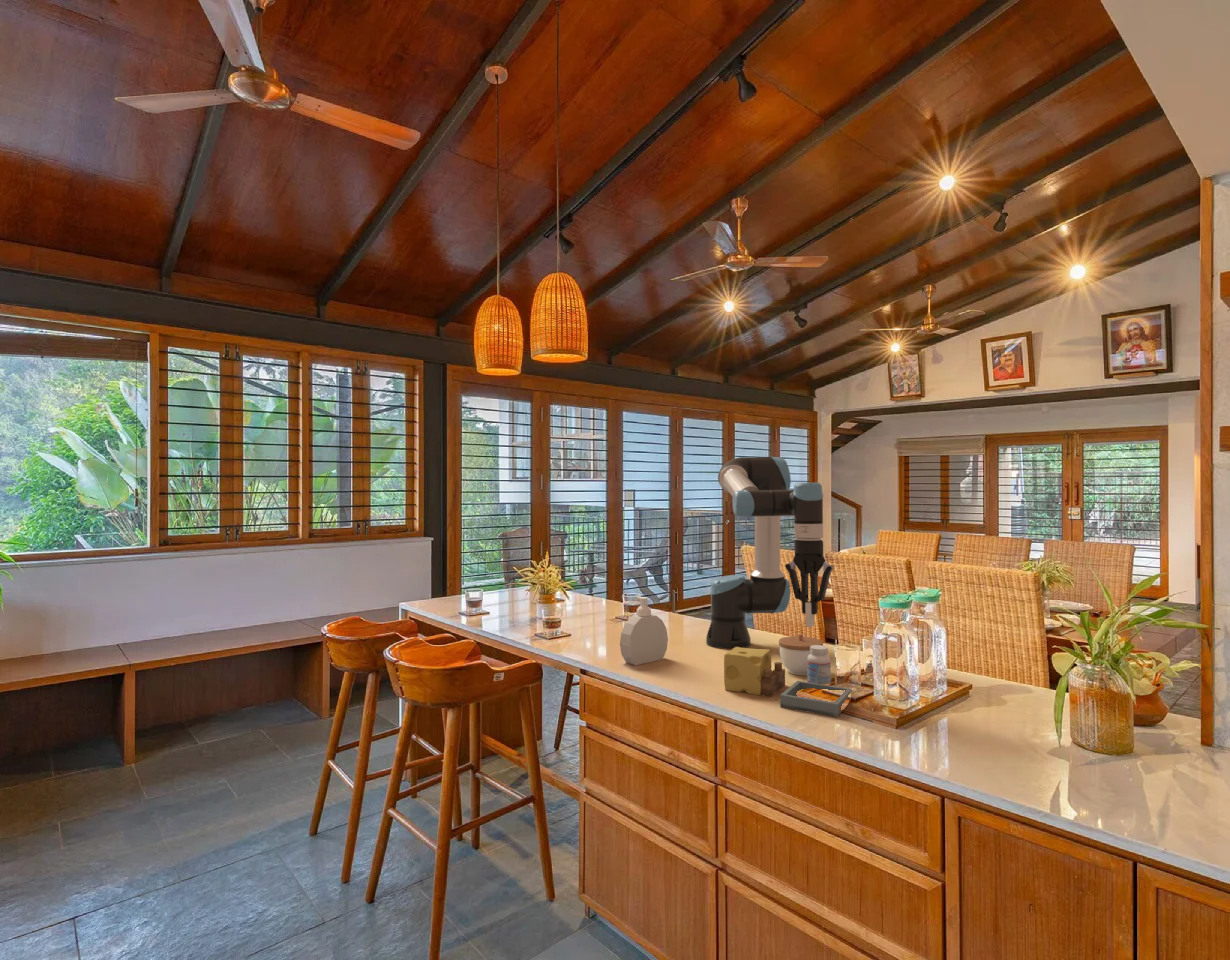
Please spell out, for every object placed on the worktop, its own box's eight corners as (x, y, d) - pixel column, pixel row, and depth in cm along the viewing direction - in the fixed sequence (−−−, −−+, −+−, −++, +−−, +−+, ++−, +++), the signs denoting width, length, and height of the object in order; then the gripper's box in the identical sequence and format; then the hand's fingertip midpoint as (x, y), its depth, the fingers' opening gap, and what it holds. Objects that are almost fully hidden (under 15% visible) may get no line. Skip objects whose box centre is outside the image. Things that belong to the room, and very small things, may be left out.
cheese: (761, 696, 175) (760, 658, 175) (722, 690, 181) (721, 653, 181) (772, 685, 185) (771, 649, 185) (734, 680, 190) (734, 645, 190)
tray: (797, 691, 178) (797, 680, 178) (851, 700, 171) (851, 688, 171) (780, 706, 167) (780, 694, 167) (837, 717, 159) (837, 704, 159)
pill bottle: (804, 685, 184) (803, 644, 184) (825, 684, 185) (825, 643, 185) (812, 692, 178) (812, 650, 178) (834, 691, 179) (834, 649, 179)
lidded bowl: (785, 664, 206) (785, 628, 206) (827, 669, 199) (827, 632, 199) (773, 674, 195) (773, 636, 195) (817, 680, 189) (817, 641, 189)
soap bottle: (657, 655, 218) (657, 594, 218) (668, 658, 214) (668, 596, 214) (618, 663, 208) (618, 599, 208) (629, 667, 204) (628, 601, 204)
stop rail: (776, 683, 186) (776, 660, 186) (785, 685, 184) (784, 661, 184) (761, 695, 176) (760, 671, 176) (770, 697, 174) (769, 672, 174)
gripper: (780, 539, 183) (781, 625, 182) (828, 540, 175) (830, 631, 175) (790, 537, 189) (791, 621, 188) (836, 539, 181) (838, 626, 181)
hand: (810, 625), depth 182 cm, fingers closed
